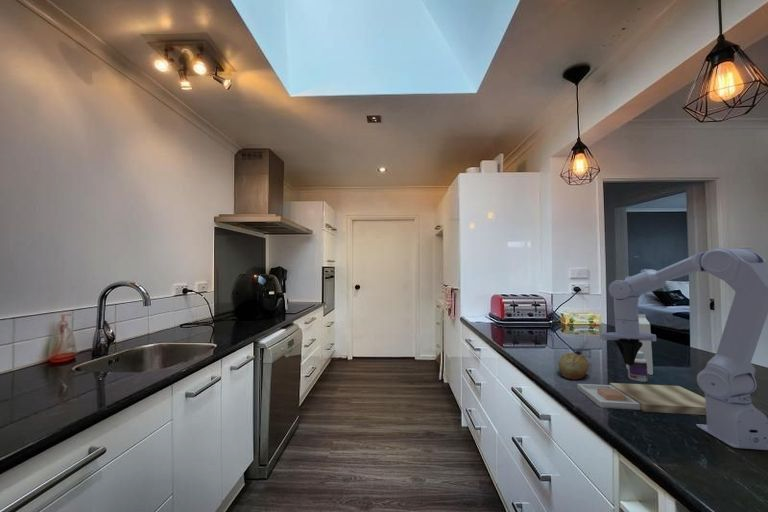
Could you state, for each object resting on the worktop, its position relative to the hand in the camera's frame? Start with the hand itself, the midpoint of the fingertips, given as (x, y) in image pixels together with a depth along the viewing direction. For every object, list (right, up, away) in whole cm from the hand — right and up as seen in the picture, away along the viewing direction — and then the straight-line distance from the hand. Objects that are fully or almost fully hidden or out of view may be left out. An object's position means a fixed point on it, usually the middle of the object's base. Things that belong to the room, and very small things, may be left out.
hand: (629, 364), depth 91 cm
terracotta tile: (-6, -10, 0) cm, 11 cm away
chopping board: (+8, -10, -2) cm, 13 cm away
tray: (-7, -10, 0) cm, 13 cm away
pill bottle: (+16, -11, +16) cm, 25 cm away
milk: (+23, -12, +23) cm, 35 cm away
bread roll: (-4, -12, +21) cm, 24 cm away
